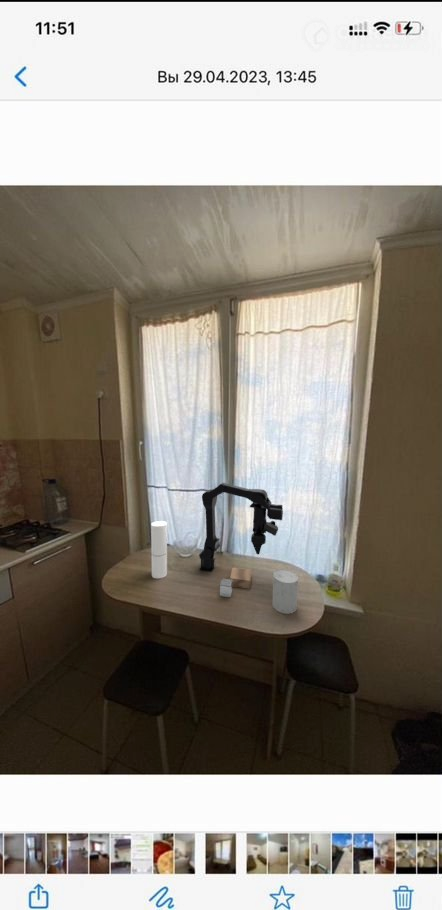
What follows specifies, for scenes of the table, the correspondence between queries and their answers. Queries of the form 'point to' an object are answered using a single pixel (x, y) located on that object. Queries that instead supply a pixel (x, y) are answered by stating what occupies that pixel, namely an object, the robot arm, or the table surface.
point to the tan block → (241, 578)
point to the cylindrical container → (159, 549)
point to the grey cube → (226, 587)
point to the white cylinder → (285, 591)
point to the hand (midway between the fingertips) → (258, 549)
